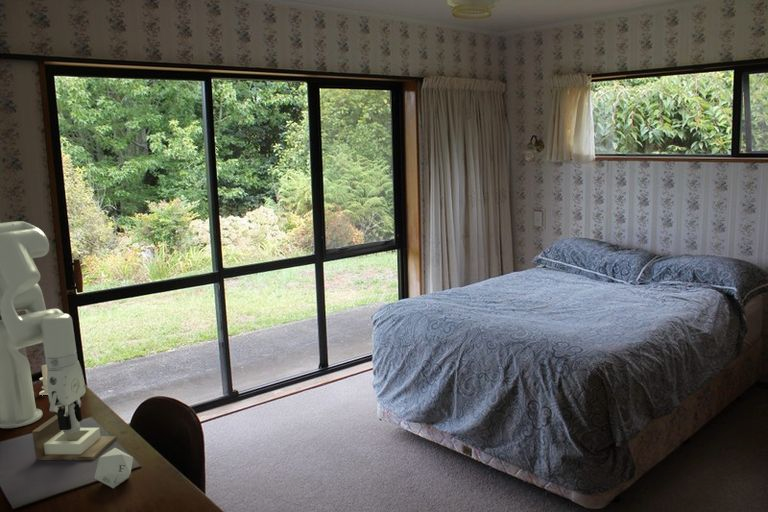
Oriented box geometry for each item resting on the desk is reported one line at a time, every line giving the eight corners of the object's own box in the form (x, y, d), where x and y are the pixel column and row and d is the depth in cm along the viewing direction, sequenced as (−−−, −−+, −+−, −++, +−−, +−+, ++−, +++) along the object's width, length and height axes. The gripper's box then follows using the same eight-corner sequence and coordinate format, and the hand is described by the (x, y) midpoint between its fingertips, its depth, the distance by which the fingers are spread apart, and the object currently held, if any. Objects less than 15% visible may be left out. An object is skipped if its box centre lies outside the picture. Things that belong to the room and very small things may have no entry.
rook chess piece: (73, 434, 175) (70, 406, 173) (59, 434, 176) (55, 405, 174) (84, 427, 179) (80, 399, 178) (70, 427, 180) (66, 399, 179)
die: (91, 496, 155) (107, 468, 152) (87, 466, 161) (102, 439, 157) (125, 495, 160) (141, 469, 157) (120, 466, 166) (135, 440, 163)
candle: (35, 395, 220) (31, 366, 218) (46, 390, 225) (41, 361, 223) (49, 396, 219) (45, 366, 218) (59, 390, 224) (55, 361, 223)
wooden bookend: (36, 459, 173) (32, 431, 172) (62, 439, 185) (58, 412, 184) (93, 460, 172) (89, 431, 170) (116, 439, 183) (113, 412, 182)
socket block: (45, 454, 174) (43, 444, 173) (66, 437, 184) (65, 427, 183) (80, 454, 173) (79, 444, 172) (100, 437, 183) (99, 427, 182)
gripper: (56, 371, 165) (66, 439, 168) (92, 350, 182) (100, 412, 185) (28, 371, 166) (38, 439, 169) (66, 350, 183) (75, 412, 186)
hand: (70, 424), depth 177 cm, fingers closed on rook chess piece, 4 cm apart
